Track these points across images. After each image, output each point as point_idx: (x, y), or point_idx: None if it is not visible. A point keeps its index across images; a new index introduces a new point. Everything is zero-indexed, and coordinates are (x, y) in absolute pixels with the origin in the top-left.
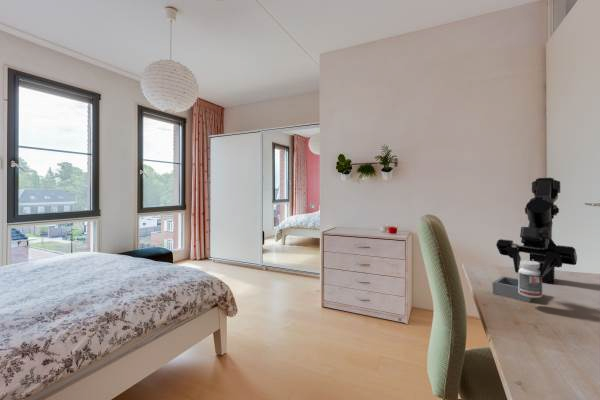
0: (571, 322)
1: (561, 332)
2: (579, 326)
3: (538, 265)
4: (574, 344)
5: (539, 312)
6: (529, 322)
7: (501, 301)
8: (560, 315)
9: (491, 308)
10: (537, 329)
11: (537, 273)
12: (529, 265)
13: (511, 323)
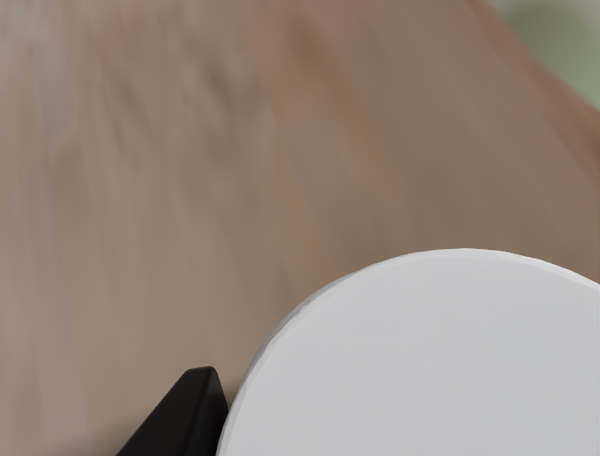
0: (96, 342)
1: (105, 127)
2: (51, 312)
3: (219, 445)
4: (35, 41)
5: None
6: (262, 112)
7: None
8: None
9: (520, 126)
10: (199, 57)
11: (254, 361)
12: (376, 267)
13: (317, 14)
